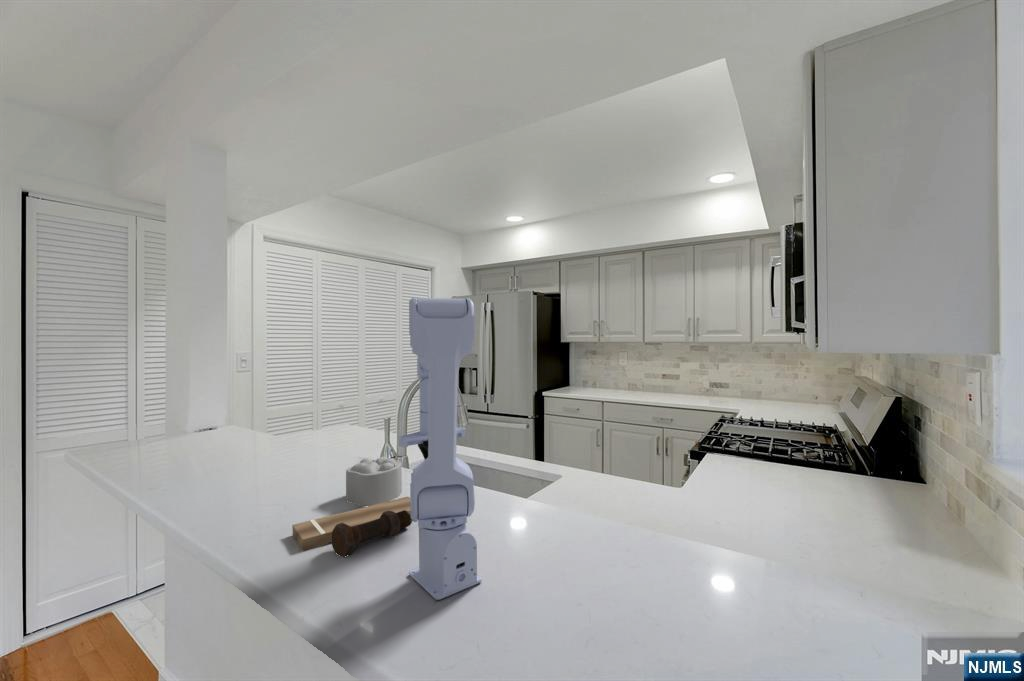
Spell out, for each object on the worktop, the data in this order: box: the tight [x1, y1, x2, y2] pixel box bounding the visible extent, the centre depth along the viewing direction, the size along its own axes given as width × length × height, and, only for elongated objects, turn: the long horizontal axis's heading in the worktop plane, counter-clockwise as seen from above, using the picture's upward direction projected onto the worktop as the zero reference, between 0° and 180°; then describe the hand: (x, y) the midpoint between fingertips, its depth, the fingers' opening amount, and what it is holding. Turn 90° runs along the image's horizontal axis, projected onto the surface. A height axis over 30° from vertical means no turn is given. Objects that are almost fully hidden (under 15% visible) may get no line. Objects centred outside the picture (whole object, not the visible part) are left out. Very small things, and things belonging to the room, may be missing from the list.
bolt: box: [331, 510, 413, 558], centre depth 83 cm, size 6×5×15 cm
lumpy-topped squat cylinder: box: [345, 456, 403, 507], centre depth 106 cm, size 10×13×9 cm
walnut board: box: [291, 496, 413, 552], centre depth 89 cm, size 8×24×2 cm, turn 129°
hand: (434, 476), depth 91 cm, fingers closed
